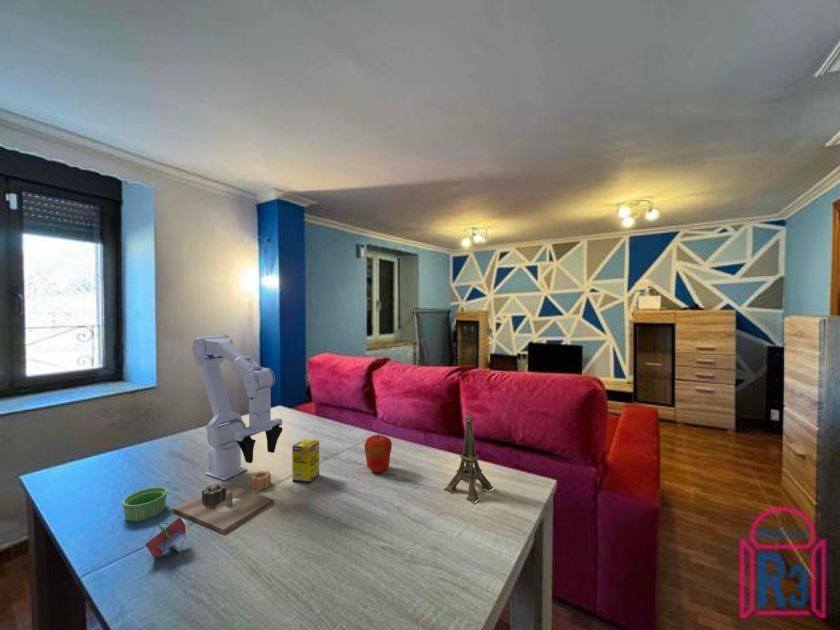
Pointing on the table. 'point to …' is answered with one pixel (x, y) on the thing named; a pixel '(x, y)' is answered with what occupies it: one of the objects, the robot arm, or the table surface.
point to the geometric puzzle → (168, 537)
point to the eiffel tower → (469, 466)
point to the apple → (378, 453)
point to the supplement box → (305, 460)
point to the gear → (260, 480)
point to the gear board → (222, 507)
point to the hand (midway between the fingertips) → (260, 456)
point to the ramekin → (145, 503)
